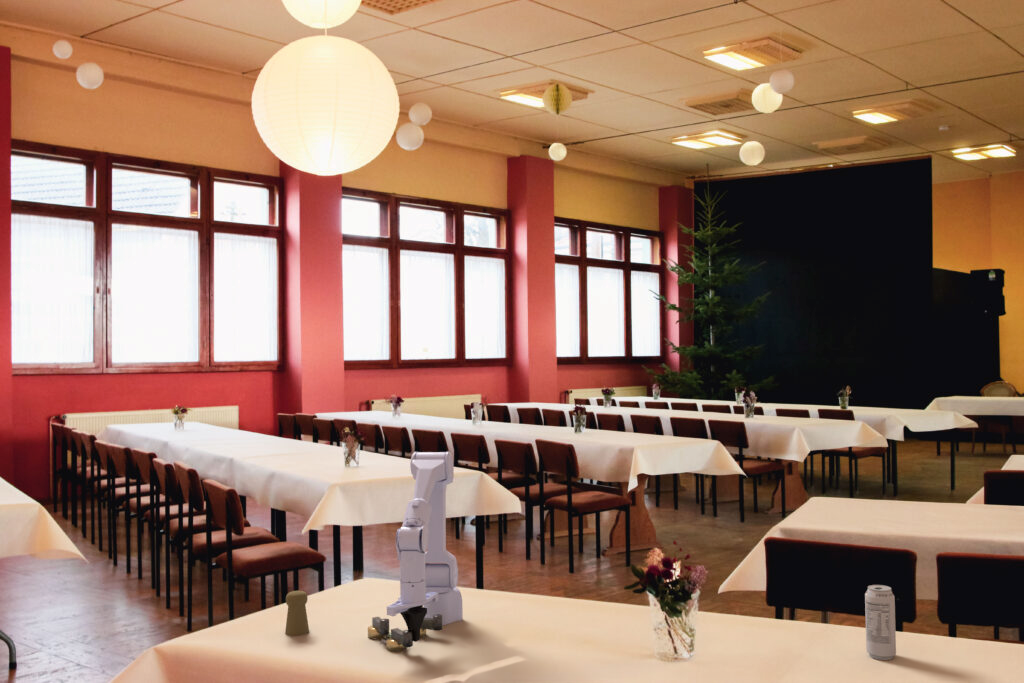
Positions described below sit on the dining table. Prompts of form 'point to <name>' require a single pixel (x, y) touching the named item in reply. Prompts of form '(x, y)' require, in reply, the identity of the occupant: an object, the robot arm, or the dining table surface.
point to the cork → (296, 614)
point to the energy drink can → (880, 622)
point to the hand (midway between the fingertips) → (414, 640)
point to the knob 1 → (378, 628)
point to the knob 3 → (431, 624)
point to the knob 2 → (400, 640)
